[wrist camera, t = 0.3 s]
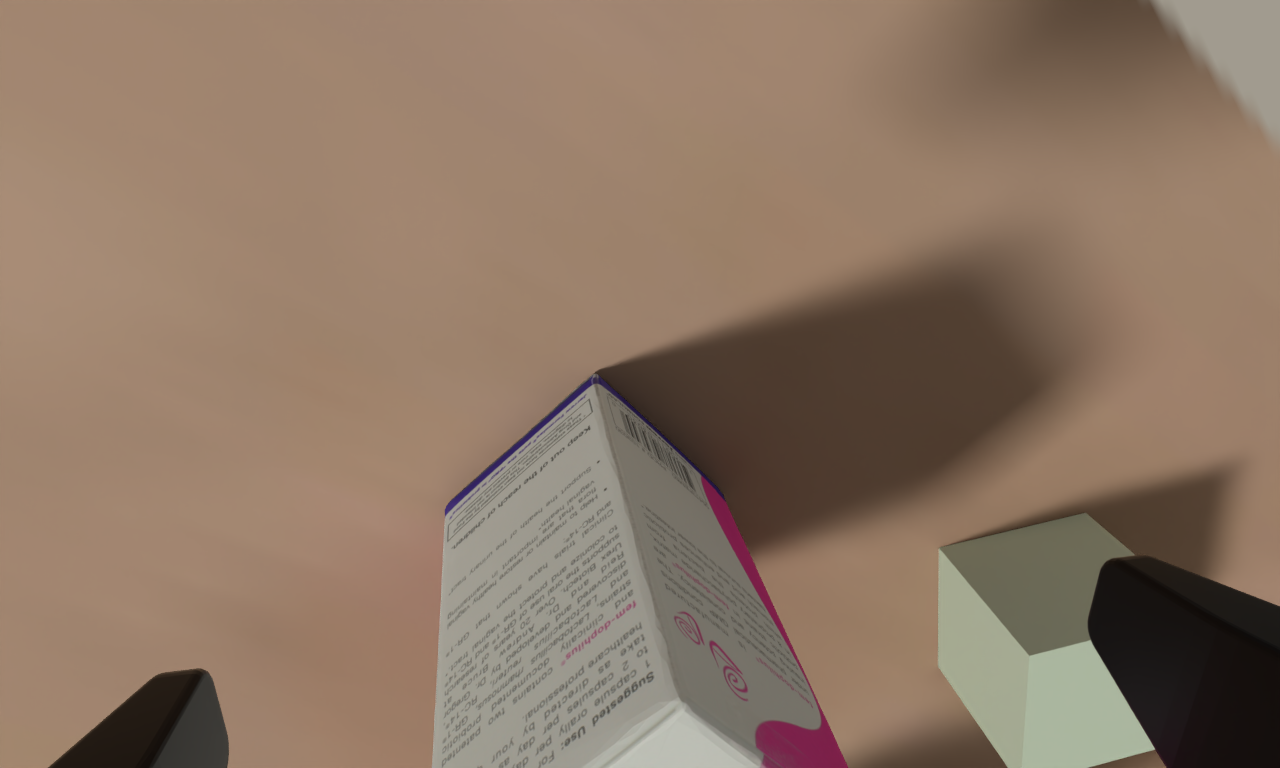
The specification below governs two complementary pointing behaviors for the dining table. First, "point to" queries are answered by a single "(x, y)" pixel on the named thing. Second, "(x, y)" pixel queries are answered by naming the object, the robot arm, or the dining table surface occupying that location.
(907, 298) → the dining table surface
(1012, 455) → the dining table surface
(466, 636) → the supplement box
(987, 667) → the sage cube
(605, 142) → the dining table surface
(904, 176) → the dining table surface
